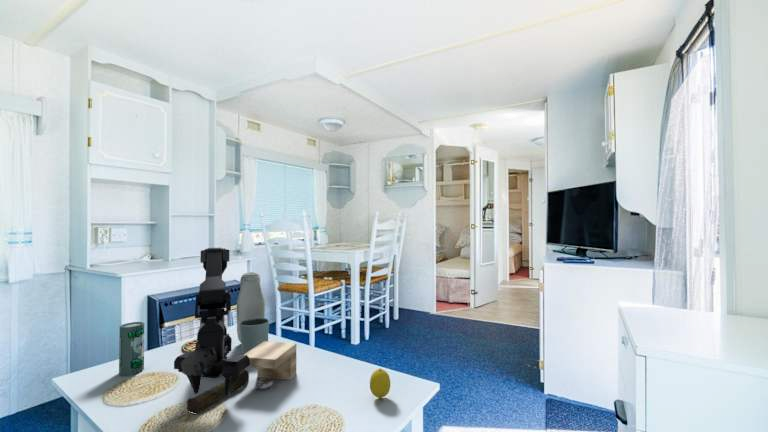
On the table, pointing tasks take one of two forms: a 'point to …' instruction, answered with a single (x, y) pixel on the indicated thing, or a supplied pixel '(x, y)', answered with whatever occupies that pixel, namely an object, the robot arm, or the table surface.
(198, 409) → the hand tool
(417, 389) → the table surface
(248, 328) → the grey green cup
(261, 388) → the steel token
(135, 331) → the can
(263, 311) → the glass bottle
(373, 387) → the lemon
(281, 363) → the beige wooden box
